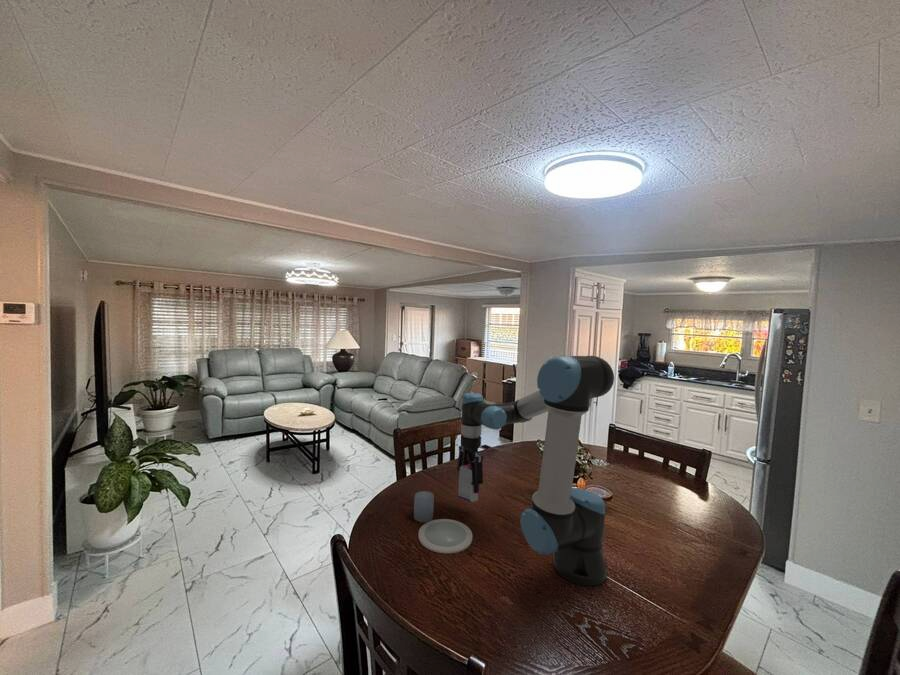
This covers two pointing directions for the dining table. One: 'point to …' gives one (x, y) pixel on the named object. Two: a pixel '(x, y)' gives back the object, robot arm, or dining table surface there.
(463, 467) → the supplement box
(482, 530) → the dining table surface
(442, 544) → the dish
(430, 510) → the cylinder block
